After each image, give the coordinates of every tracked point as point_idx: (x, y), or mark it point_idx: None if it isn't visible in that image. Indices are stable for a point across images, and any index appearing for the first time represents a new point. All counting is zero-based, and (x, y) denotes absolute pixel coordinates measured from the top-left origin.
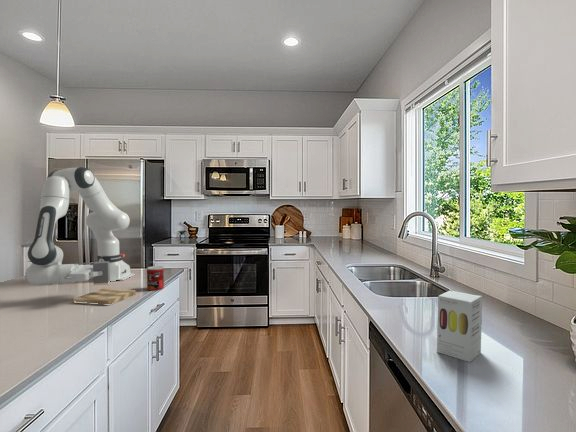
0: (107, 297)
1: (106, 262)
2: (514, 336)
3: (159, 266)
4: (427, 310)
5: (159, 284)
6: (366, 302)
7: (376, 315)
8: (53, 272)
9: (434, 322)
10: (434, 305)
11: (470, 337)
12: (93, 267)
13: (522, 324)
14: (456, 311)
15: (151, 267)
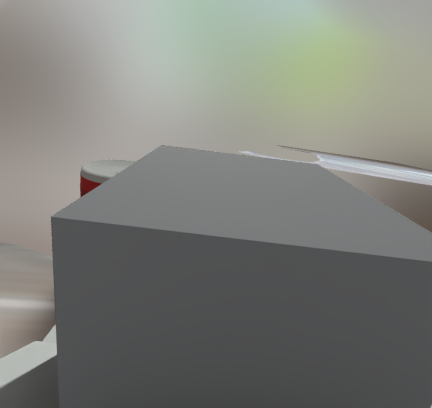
0: None
1: (279, 163)
2: (422, 171)
3: (103, 162)
4: (363, 166)
5: None
6: (338, 169)
7: (387, 177)
8: None
9: (400, 173)
10: (346, 162)
11: None
12: (425, 387)
13: (392, 164)
14: None
15: (96, 172)
